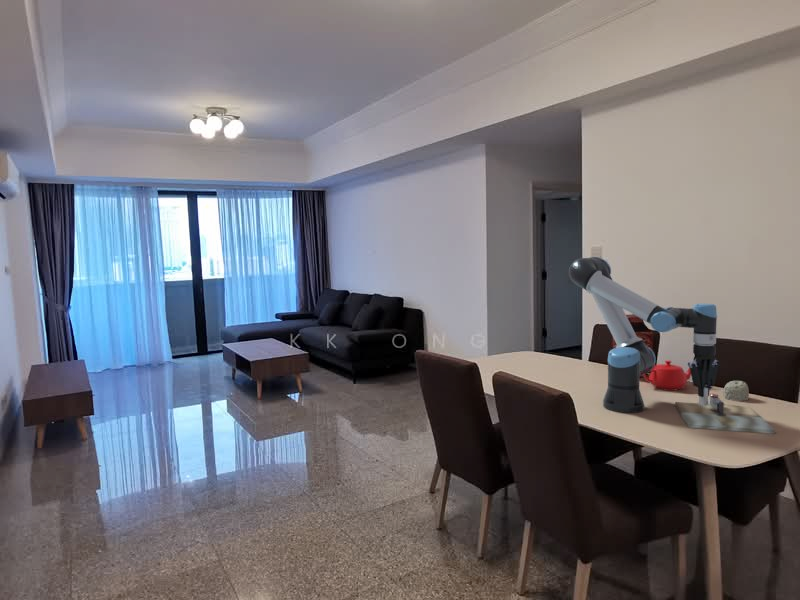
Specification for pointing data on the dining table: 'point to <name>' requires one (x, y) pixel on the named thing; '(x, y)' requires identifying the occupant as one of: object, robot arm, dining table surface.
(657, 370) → the teapot
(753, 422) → the lock board
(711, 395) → the lever
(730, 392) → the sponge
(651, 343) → the vase
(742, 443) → the dining table surface
